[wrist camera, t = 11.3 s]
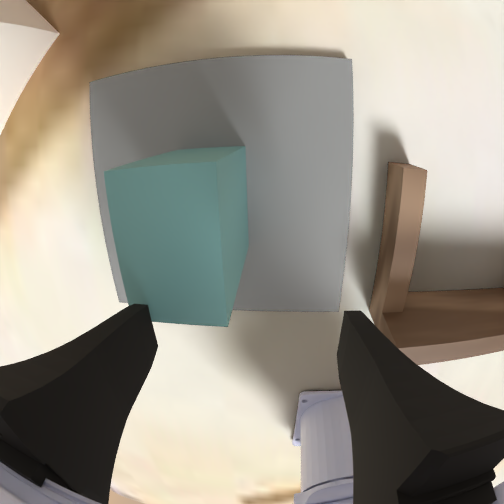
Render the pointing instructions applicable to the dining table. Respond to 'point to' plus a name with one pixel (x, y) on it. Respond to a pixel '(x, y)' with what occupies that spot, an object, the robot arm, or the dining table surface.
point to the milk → (20, 50)
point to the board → (248, 159)
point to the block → (181, 232)
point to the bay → (429, 302)
